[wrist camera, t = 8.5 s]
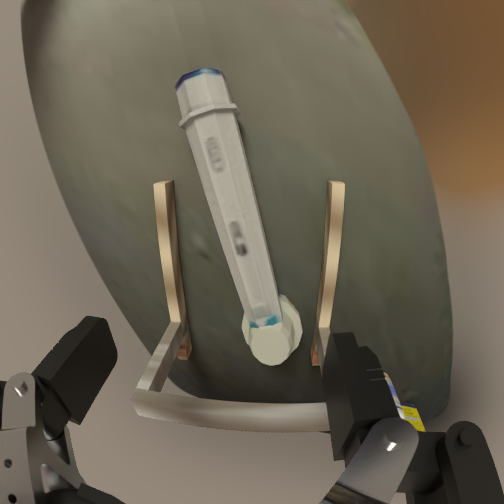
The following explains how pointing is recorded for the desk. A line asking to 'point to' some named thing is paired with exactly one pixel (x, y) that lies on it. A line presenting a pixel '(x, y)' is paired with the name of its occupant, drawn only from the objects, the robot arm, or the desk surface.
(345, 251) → the desk surface
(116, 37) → the desk surface
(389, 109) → the desk surface
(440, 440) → the robot arm
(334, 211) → the tan holder stand
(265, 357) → the white electric toothbrush
